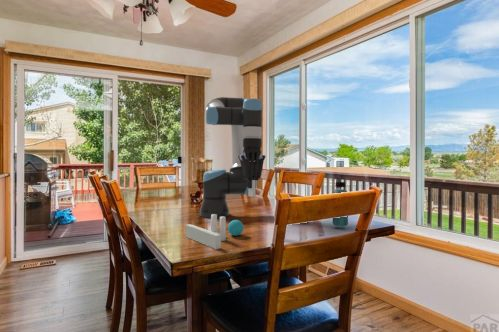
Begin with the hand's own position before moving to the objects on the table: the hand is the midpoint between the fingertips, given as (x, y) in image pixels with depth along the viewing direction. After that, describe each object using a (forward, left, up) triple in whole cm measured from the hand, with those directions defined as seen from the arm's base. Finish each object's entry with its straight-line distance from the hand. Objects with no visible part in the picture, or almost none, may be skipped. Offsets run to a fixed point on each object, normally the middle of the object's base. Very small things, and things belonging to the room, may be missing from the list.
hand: (251, 196), depth 123 cm
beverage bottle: (+1, +39, -15) cm, 41 cm away
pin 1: (+6, -16, -14) cm, 22 cm away
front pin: (+6, -12, -13) cm, 19 cm away
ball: (+5, -7, -11) cm, 14 cm away
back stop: (+12, -20, -14) cm, 28 cm away
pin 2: (+11, -13, -14) cm, 22 cm away
